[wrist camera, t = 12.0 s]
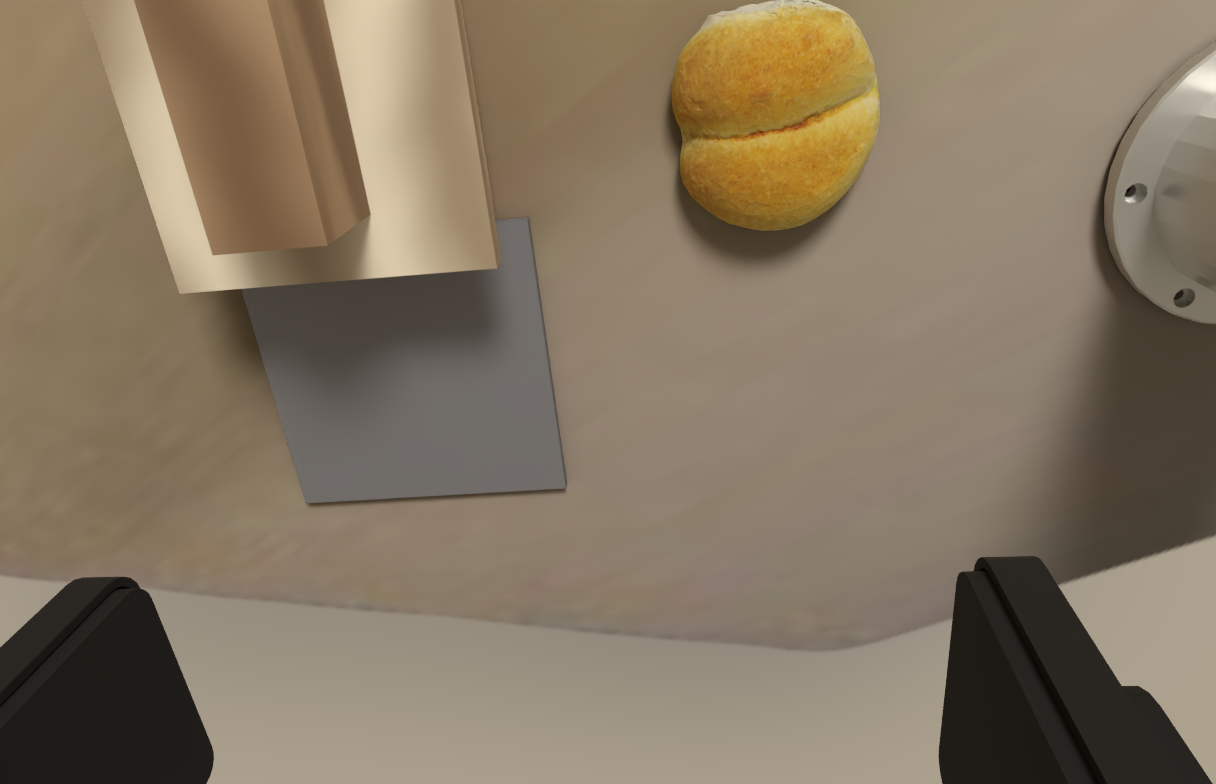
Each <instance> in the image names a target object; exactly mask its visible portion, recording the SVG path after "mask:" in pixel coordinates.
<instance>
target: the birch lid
mask: <svg viewBox="0 0 1216 784" xmlns="http://www.w3.org/2000/svg"><path fill="white" fill-rule="evenodd" d="M82 1H83V4H84V7H85V10H86V13H87V16H88V19H89V22H90V25H91V28H92V31H93V34H94V37H95V40H96V43H97V47H98V50H99V53H100V56H101V59H102V62H103V65H104V68H105V71H106V74H107V77H108V80H109V83H110V86H111V89H112V92H113V95H114V98H115V101H116V104H117V107H118V110H119V113H120V116H121V119H122V122H123V125H124V128H125V131H126V134H127V137H128V140H129V143H130V146H131V149H132V152H133V155H134V158H135V161H136V164H137V167H138V170H139V173H140V176H141V179H142V182H143V185H144V188H145V191H146V194H147V197H148V200H149V203H150V206H151V209H152V212H153V215H154V218H155V221H156V224H157V227H158V230H159V233H160V236H161V239H162V242H163V245H164V248H165V251H166V254H167V257H168V260H169V263H170V266H171V269H172V272H173V275H174V278H175V281H176V284H177V287H178V290H179V293H180V294H183V293H195V292H208V291H220V290H233V289H245V288H258V287H270V286H283V285H295V284H308V283H320V282H333V281H345V280H358V279H370V278H383V277H396V276H408V275H421V274H433V273H446V272H458V271H471V270H483V269H496V268H498V266H499V265H500V263H501V261H502V260H501V254H500V248H499V241H498V235H497V228H496V222H495V216H494V209H493V203H492V197H491V190H490V184H489V177H488V171H487V165H486V158H485V152H484V146H483V139H482V133H481V126H480V120H479V114H478V107H477V101H476V94H475V88H474V82H473V75H472V69H471V63H470V56H469V50H468V43H467V37H466V31H465V24H464V18H463V12H462V5H461V0H82Z"/></svg>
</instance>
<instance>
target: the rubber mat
mask: <svg viewBox="0 0 1216 784" xmlns="http://www.w3.org/2000/svg"><path fill="white" fill-rule="evenodd" d="M495 222H496V228H497V235H498V241H499V248H500V254H501V260H502V261H501V263H500V265H499V266H498V268H496V269H483V270H471V271H458V272H446V273H433V274H421V275H408V276H396V277H383V278H370V279H358V280H345V281H333V282H320V283H308V284H295V285H283V286H270V287H258V288H245V289H241V291H242V294H243V298H244V301H245V304H246V307H247V311H248V314H249V317H250V321H251V324H252V327H253V331H254V334H255V337H256V340H257V344H258V347H259V350H260V354H261V357H262V360H263V364H264V367H265V370H266V373H267V377H268V380H269V383H270V387H271V390H272V393H273V397H274V400H275V403H276V406H277V410H278V413H279V416H280V420H281V423H282V426H283V430H284V433H285V436H286V440H287V443H288V446H289V449H290V453H291V456H292V459H293V463H294V466H295V469H296V473H297V476H298V479H299V482H300V486H301V489H302V492H303V496H304V499H305V502H306V503H321V502H338V501H355V500H373V499H390V498H407V497H425V496H442V495H459V494H476V493H494V492H511V491H528V490H546V489H563V488H566V486H567V480H566V473H565V466H564V459H563V452H562V445H561V438H560V431H559V424H558V417H557V410H556V403H555V396H554V389H553V382H552V375H551V368H550V361H549V354H548V347H547V340H546V333H545V326H544V319H543V312H542V305H541V298H540V291H539V284H538V277H537V270H536V263H535V256H534V249H533V242H532V235H531V228H530V221H529V217H526V218H514V219H503V220H495Z"/></svg>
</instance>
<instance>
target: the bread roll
mask: <svg viewBox="0 0 1216 784" xmlns="http://www.w3.org/2000/svg"><path fill="white" fill-rule="evenodd" d="M671 98H672V107H673V112H674V115H675V118H676V121H677V123H678V125H679V127H680V129H681V134H682V148H681V155H680V174H681V178H682V182H683V184H684V185H685V187H686V189H687V191H688V192H689V194H690V195H691V197H692V198H693V199H694V200H695V201H696V202H697V203H699V204H700V205H701V206H702V207H703V208H705V209H706V210H707V211H709V212H710V213H712V214H713V215H715V216H716V217H718V218H719V219H721V220H723V221H725V222H727V223H729V224H732V225H737V226H741V227H744V228H748V229H753V230H760V231H773V230H783V229H789V228H794V227H798V226H801V225H804V224H806V223H808V222H810V221H812V220H813V219H815V218H817V217H819V216H820V215H822V214H823V213H824V212H826V211H827V210H828V209H830V208H831V207H832V206H833V205H834V204H835V203H836V202H837V201H838V200H840V199H841V198H842V197H843V196H844V195H845V194H846V192H847V191H848V190H849V189H850V188H851V186H852V185H853V184H854V183H855V182H856V180H857V179H858V177H859V175H860V173H861V171H862V169H863V167H864V165H865V163H866V161H867V159H868V157H869V155H870V153H871V151H872V149H873V147H874V145H875V142H876V137H877V133H878V128H879V119H880V99H879V94H878V88H877V77H876V70H875V65H874V60H873V57H872V55H871V53H870V50H869V48H868V45H867V43H866V41H865V39H864V37H863V35H862V33H861V31H860V29H859V27H858V26H857V24H856V23H855V21H854V19H852V18H851V17H850V16H849V15H848V14H847V13H846V12H844V11H843V10H841V9H839V8H837V7H834V6H832V5H828V4H826V3H823V2H821V1H819V0H776V1H768V2H764V3H760V4H757V5H756V4H749V5H747V6H742V7H739V8H737V9H736V10H734V11H721V12H719V13H716V14H714V15H709V16H708V17H707V19H706V21H705V22H704V24H703V25H702V27H701V28H700V30H699V31H698V32H697V33H696V34H695V35H694V36H693V37H692V38H691V40H690V41H689V42H688V43H687V45H686V46H685V47H684V49H683V50H682V52H681V53H680V56H679V58H678V60H677V64H676V67H675V72H674V77H673V82H672V90H671Z"/></svg>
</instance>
